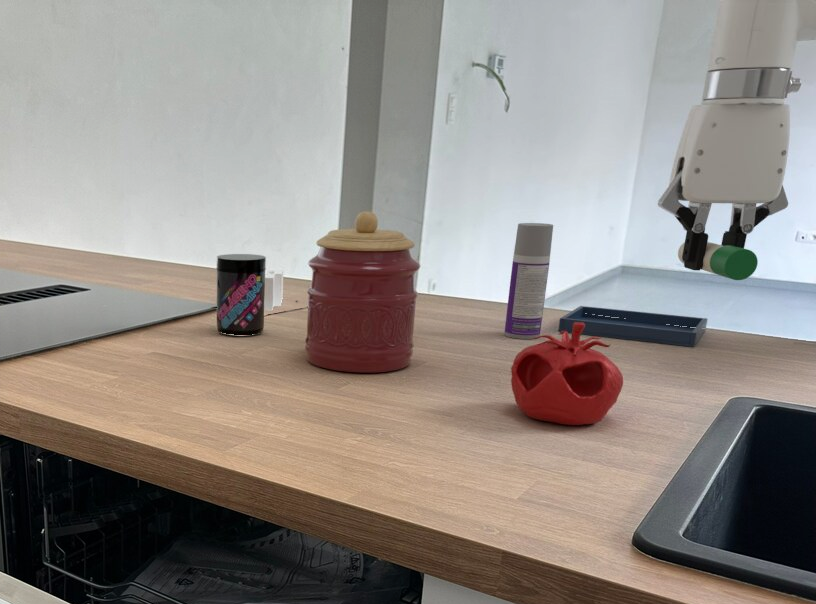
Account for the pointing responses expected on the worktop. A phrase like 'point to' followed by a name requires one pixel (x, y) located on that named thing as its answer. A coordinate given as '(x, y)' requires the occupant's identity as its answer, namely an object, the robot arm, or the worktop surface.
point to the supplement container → (240, 293)
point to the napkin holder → (273, 288)
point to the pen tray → (636, 325)
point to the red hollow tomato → (565, 380)
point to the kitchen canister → (362, 299)
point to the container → (528, 280)
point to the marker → (727, 261)
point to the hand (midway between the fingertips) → (709, 267)
